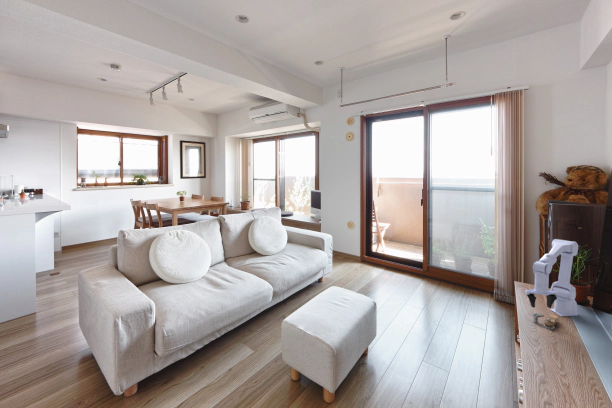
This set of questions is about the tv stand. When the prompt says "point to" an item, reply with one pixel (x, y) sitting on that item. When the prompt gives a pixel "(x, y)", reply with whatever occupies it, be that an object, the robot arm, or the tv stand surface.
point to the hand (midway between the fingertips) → (540, 307)
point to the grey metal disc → (548, 327)
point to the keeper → (537, 316)
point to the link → (551, 320)
